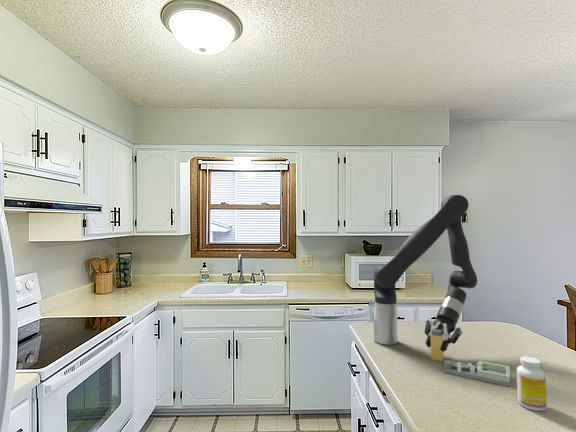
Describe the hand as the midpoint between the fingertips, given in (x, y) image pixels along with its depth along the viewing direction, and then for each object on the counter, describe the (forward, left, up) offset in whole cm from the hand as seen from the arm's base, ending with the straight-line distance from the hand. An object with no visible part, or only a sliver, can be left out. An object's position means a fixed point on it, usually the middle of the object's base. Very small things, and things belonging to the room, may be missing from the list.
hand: (434, 348), depth 127 cm
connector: (+1, +2, -4) cm, 5 cm away
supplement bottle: (+29, -20, -4) cm, 35 cm away
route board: (+14, -6, -4) cm, 16 cm away
